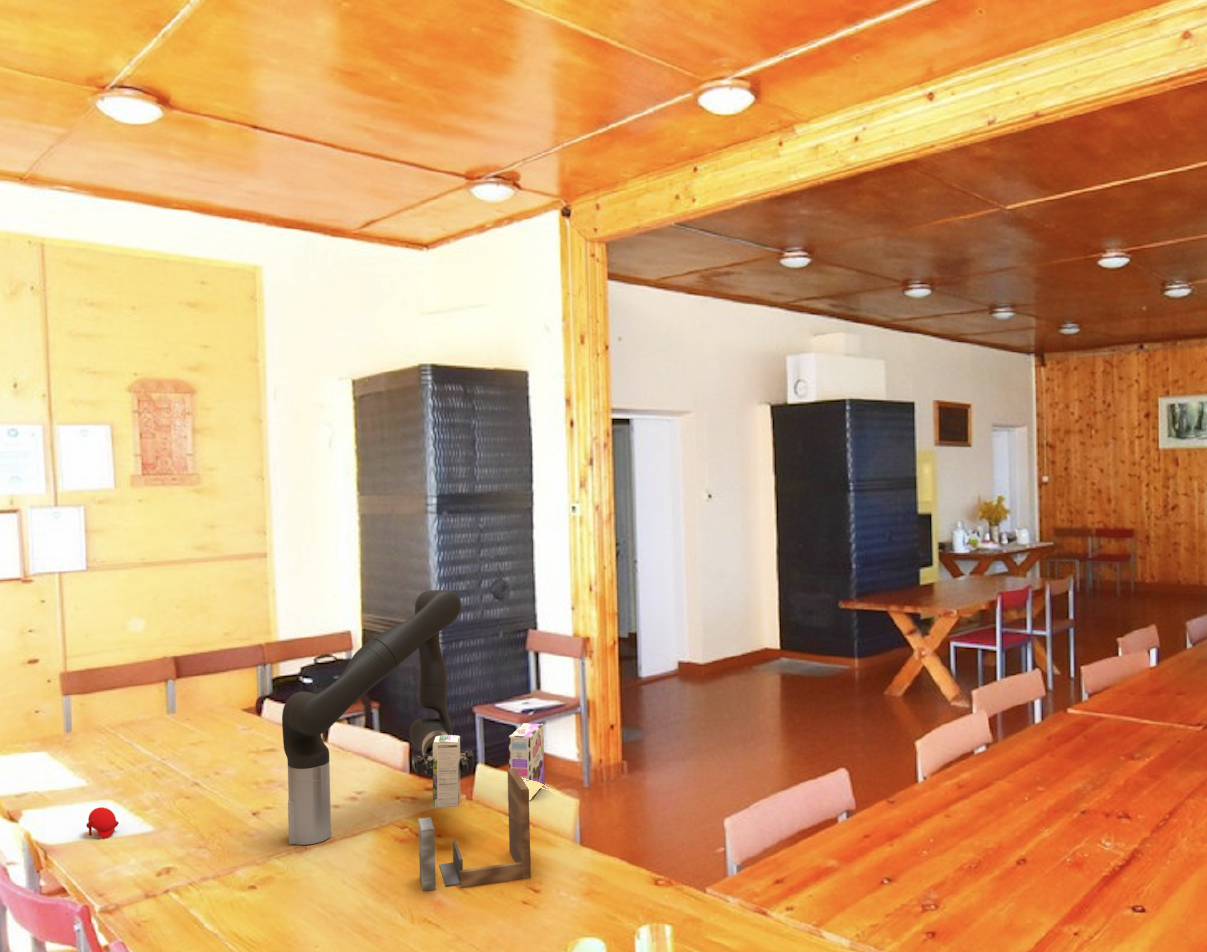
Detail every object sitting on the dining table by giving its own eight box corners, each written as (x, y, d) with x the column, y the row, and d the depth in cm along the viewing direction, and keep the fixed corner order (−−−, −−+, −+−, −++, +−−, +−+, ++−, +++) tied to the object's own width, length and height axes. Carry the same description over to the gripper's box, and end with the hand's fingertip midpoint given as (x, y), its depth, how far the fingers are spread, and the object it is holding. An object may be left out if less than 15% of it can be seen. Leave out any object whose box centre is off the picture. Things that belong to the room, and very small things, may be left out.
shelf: (423, 893, 185) (421, 801, 185) (416, 864, 200) (414, 779, 200) (530, 877, 191) (528, 788, 191) (516, 850, 206) (514, 768, 206)
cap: (79, 820, 223) (81, 813, 219) (104, 805, 227) (107, 798, 223) (96, 848, 222) (99, 842, 217) (121, 833, 226) (124, 826, 221)
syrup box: (435, 799, 212) (433, 735, 212) (461, 798, 212) (460, 734, 212) (432, 808, 206) (431, 742, 206) (459, 807, 207) (458, 741, 207)
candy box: (531, 801, 238) (529, 736, 238) (509, 800, 239) (507, 735, 239) (545, 784, 251) (544, 722, 251) (524, 783, 252) (522, 722, 253)
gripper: (407, 737, 221) (414, 756, 205) (468, 731, 225) (480, 750, 209) (408, 769, 221) (415, 791, 205) (469, 762, 225) (480, 783, 209)
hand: (448, 770), depth 207 cm, fingers closed on syrup box, 6 cm apart
